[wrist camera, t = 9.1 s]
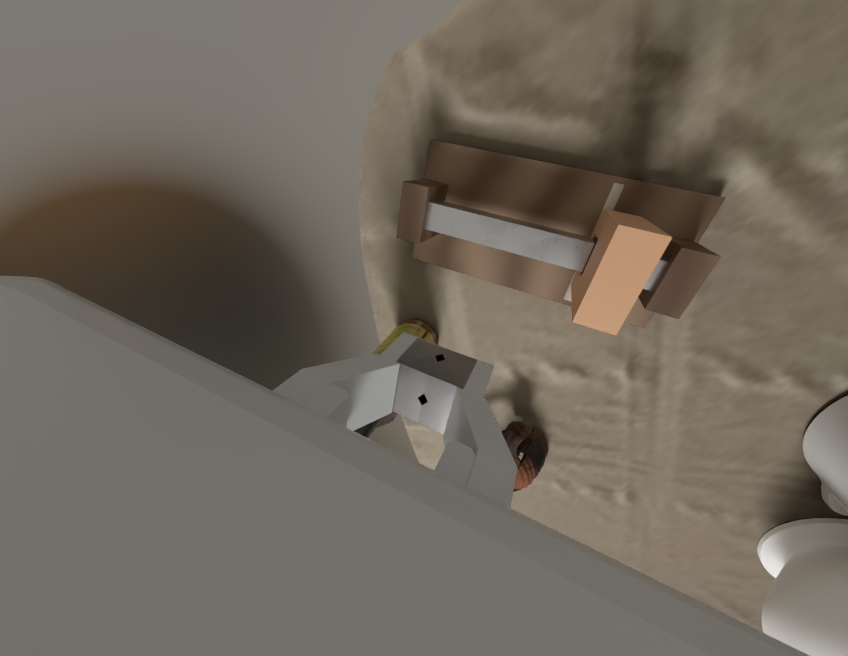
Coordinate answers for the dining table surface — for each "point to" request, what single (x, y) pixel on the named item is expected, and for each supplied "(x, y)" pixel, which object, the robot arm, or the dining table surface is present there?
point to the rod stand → (548, 225)
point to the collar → (616, 270)
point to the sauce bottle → (408, 326)
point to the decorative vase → (807, 585)
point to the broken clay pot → (525, 452)
